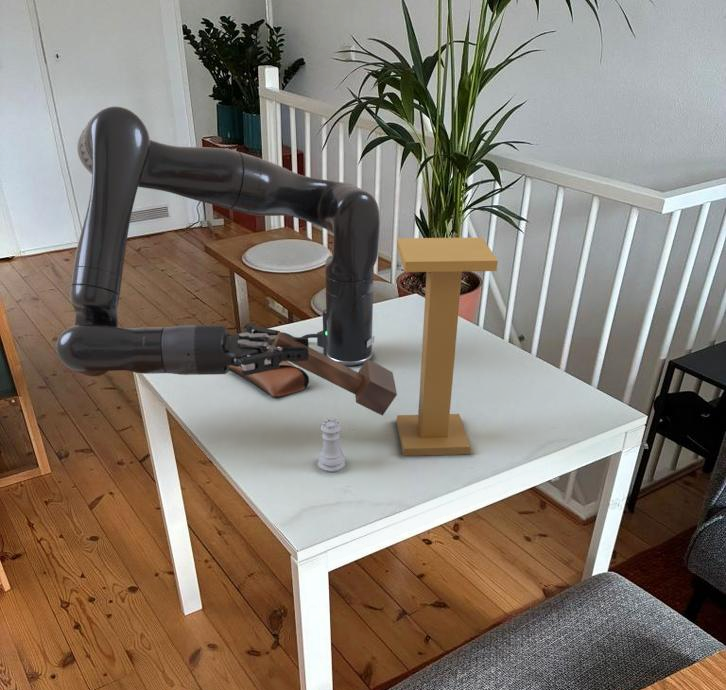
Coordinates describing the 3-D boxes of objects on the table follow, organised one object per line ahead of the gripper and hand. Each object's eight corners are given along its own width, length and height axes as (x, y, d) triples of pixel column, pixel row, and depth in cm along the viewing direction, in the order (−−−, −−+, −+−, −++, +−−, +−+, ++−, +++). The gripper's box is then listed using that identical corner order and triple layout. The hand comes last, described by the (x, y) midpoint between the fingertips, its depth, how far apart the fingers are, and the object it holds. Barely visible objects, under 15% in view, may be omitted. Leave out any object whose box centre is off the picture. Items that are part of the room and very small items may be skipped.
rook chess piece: (317, 458, 119) (315, 415, 115) (344, 457, 119) (344, 414, 115) (318, 473, 115) (316, 429, 111) (346, 472, 116) (346, 428, 111)
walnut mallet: (378, 392, 124) (392, 371, 122) (382, 416, 117) (397, 394, 115) (272, 338, 117) (284, 315, 115) (269, 359, 110) (283, 335, 108)
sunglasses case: (219, 366, 146) (231, 334, 144) (246, 373, 151) (258, 343, 150) (274, 398, 135) (287, 364, 133) (301, 405, 140) (314, 372, 139)
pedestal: (464, 420, 130) (482, 237, 111) (475, 454, 121) (497, 260, 102) (390, 422, 129) (397, 238, 111) (397, 456, 120) (405, 261, 102)
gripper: (186, 346, 105) (307, 345, 106) (198, 309, 117) (307, 308, 118) (192, 393, 109) (309, 391, 110) (203, 353, 121) (309, 352, 122)
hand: (307, 348), depth 114 cm, fingers closed on walnut mallet, 2 cm apart
